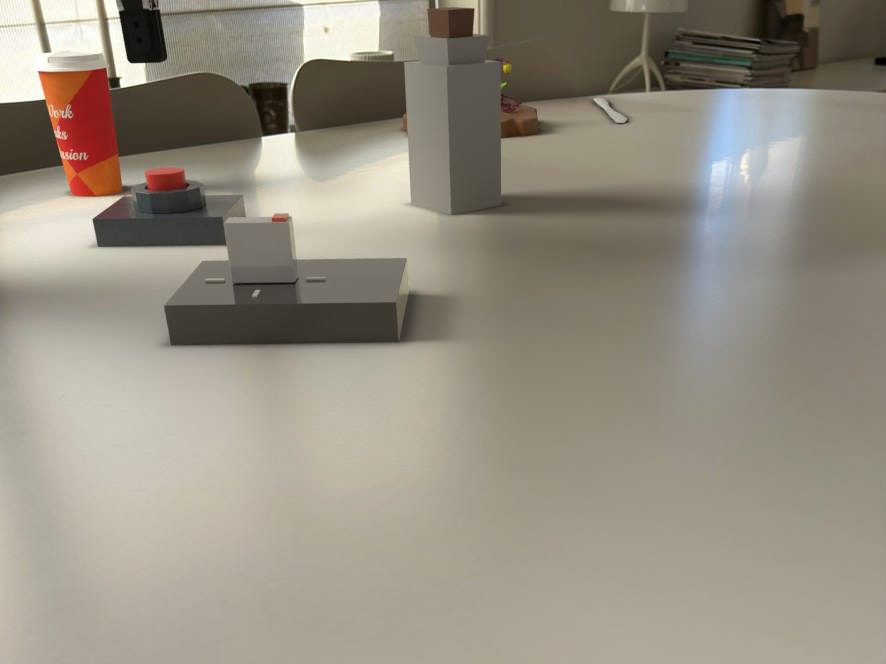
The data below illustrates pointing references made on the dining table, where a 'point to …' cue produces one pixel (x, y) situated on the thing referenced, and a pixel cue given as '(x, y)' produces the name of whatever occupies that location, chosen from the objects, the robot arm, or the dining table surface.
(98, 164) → the paper cup
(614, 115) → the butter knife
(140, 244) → the switch block
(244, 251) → the white block red tab
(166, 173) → the power button
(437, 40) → the perfume bottle
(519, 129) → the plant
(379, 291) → the dark grey base block
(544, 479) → the dining table surface
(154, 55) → the robot arm
